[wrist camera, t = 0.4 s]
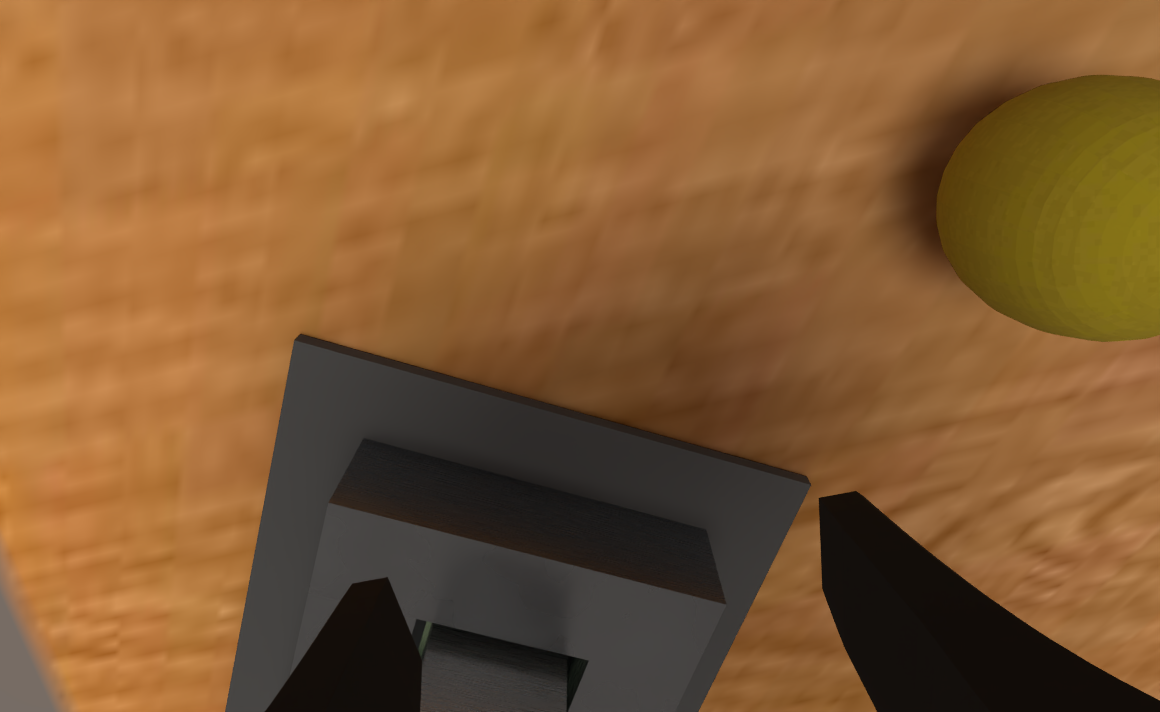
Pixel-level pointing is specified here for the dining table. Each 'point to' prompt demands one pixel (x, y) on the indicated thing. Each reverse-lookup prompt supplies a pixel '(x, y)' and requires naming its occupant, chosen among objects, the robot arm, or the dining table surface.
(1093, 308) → the lemon
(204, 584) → the dining table surface
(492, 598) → the jack housing
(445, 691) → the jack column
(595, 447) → the base mat
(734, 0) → the dining table surface
